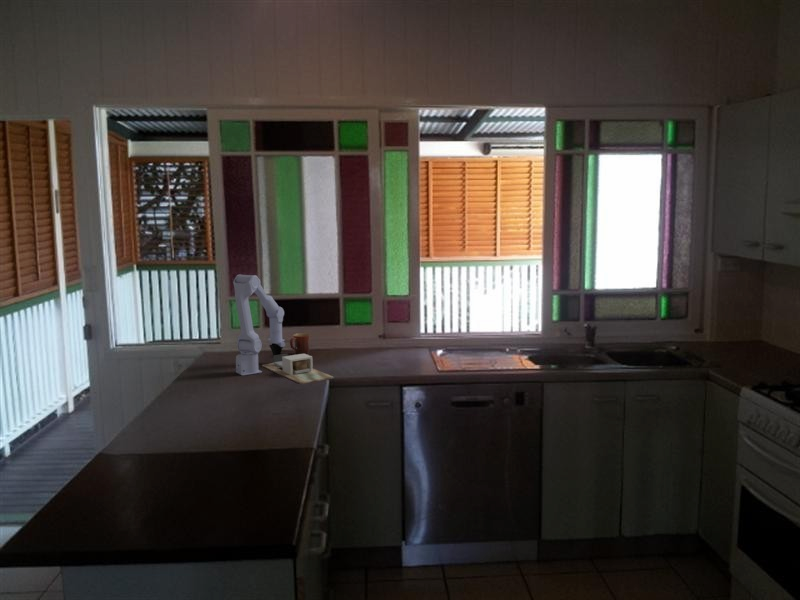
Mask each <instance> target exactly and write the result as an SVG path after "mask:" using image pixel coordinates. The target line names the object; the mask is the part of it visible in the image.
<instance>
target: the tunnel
mask: <svg viewBox="0 0 800 600" xmlns="http://www.w3.org/2000/svg"><path fill="white" fill-rule="evenodd" d="M299 360H307V368H308V369H310V371H313V369H314V364H313V362H314V359H313V356H312V355H309V354H308V355H307V354H298V355H296V354H292V355H291V354H290V355H288V356H284V357H282V367H283V369H282V371H283V372H285V373H287V374H290V375H293V365H292V362H293V361H299Z"/></svg>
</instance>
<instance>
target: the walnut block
mask: <svg viewBox="0 0 800 600" xmlns="http://www.w3.org/2000/svg"><path fill="white" fill-rule="evenodd" d="M292 365H293V369H294V370H296V371H299V370H305V369H307V360H299V361H293V362H292Z"/></svg>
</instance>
